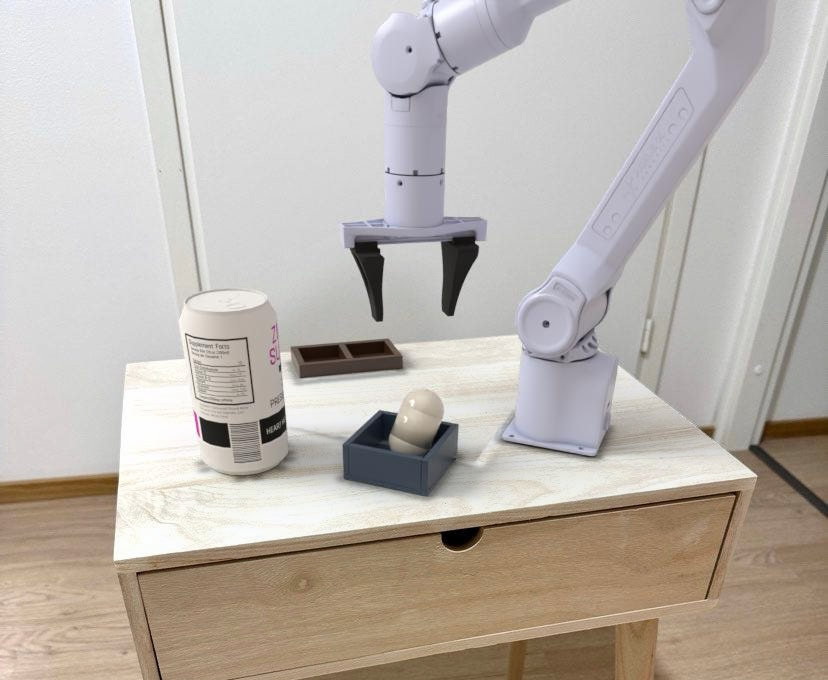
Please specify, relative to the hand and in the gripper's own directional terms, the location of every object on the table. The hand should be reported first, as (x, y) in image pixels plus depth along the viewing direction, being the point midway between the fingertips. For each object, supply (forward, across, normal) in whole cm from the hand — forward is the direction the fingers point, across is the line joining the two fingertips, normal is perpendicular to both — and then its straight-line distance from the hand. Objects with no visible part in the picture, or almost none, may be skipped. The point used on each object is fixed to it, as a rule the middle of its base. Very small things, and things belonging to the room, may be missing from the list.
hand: (413, 316), depth 79 cm
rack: (+9, +5, -12) cm, 16 cm away
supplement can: (+10, +19, +9) cm, 23 cm away
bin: (+9, +5, +15) cm, 18 cm away
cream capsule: (+9, +5, +15) cm, 18 cm away
